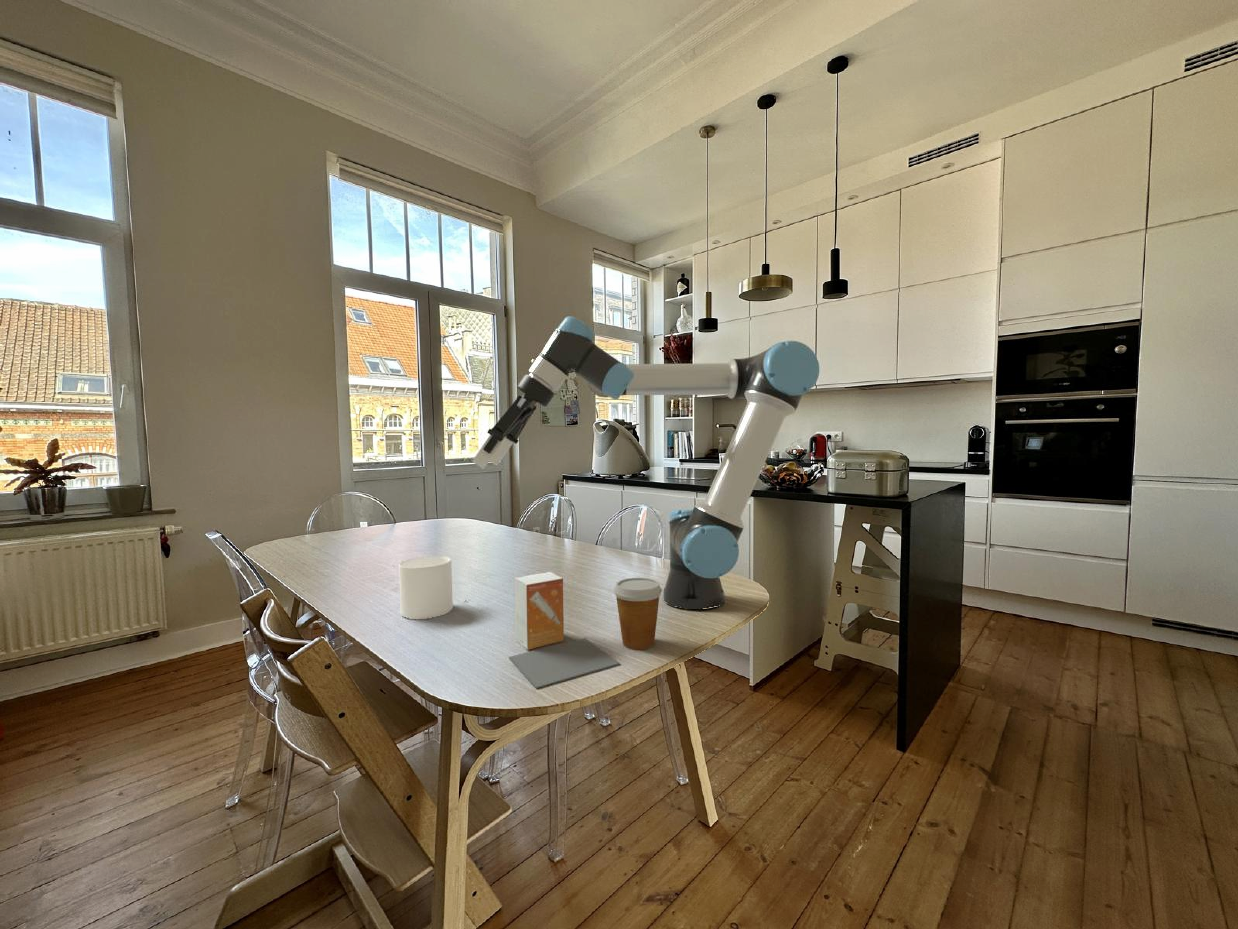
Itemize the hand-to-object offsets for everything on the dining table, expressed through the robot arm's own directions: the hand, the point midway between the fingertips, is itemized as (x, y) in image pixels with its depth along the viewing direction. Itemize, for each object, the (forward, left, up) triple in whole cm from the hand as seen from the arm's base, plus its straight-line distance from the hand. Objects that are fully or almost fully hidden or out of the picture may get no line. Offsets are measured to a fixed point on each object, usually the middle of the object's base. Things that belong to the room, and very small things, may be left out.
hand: (485, 464), depth 105 cm
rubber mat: (-6, +24, -36) cm, 44 cm away
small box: (-6, +13, -36) cm, 39 cm away
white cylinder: (+10, -19, -36) cm, 42 cm away
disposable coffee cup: (-22, +25, -36) cm, 49 cm away
